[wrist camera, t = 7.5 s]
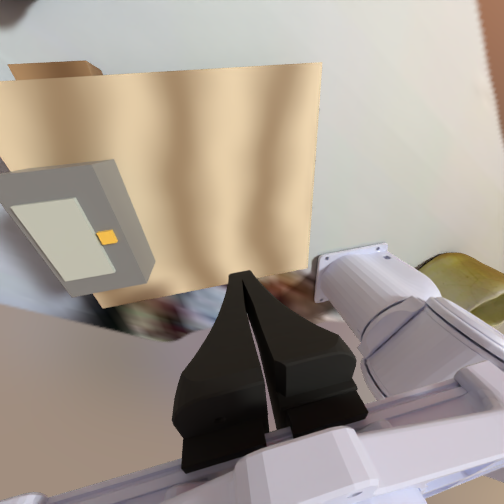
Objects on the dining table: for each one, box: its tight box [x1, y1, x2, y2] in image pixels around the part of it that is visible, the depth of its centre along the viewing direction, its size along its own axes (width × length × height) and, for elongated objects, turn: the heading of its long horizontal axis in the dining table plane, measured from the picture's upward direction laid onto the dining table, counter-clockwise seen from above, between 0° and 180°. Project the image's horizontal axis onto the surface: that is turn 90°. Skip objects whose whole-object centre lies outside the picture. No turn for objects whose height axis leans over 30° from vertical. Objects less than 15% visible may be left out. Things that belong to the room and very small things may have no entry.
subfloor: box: [0, 61, 322, 308], centre depth 17 cm, size 20×18×4 cm
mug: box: [418, 253, 504, 327], centre depth 28 cm, size 12×10×10 cm
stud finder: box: [0, 159, 156, 297], centre depth 13 cm, size 5×8×3 cm, turn 5°
